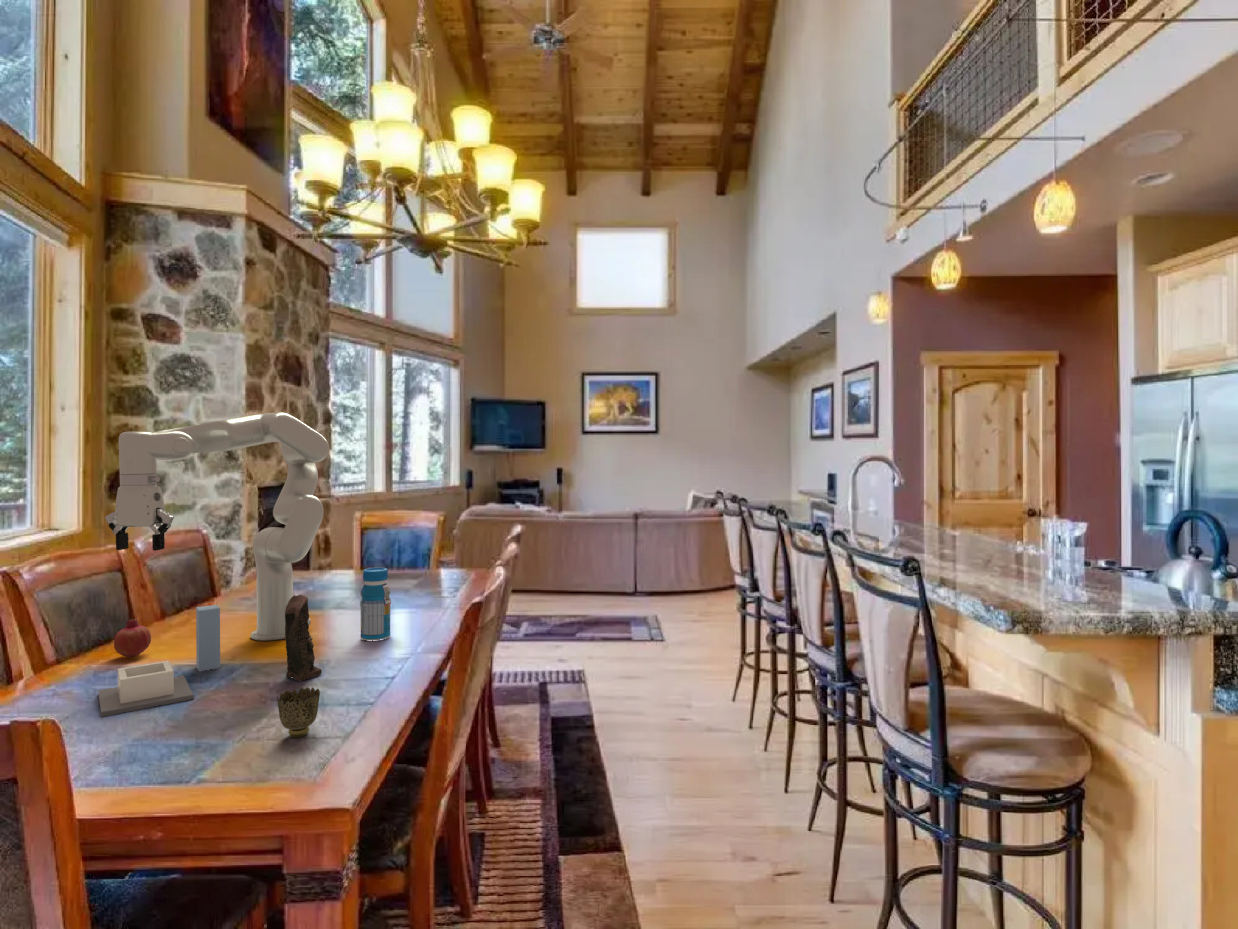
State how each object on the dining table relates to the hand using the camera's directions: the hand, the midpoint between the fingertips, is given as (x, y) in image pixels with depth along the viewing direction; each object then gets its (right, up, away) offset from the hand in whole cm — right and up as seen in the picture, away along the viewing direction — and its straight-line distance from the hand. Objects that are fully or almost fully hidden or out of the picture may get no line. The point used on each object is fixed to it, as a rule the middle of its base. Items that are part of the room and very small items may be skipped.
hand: (140, 549), depth 170 cm
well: (+16, -30, -21) cm, 39 cm away
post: (+17, -29, 0) cm, 34 cm away
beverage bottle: (+49, -29, +27) cm, 63 cm away
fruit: (-8, -29, +8) cm, 31 cm away
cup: (+58, -31, -40) cm, 77 cm away
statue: (+43, -30, -7) cm, 53 cm away
